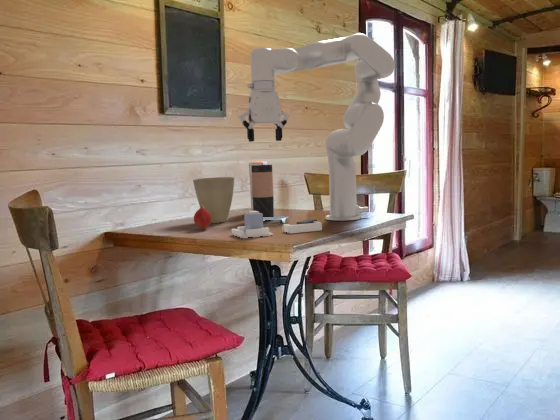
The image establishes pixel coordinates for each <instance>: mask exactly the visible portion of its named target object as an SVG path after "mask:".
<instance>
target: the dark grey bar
mask: <svg viewBox="0 0 560 420" xmlns="http://www.w3.org/2000/svg"><path fill="white" fill-rule="evenodd" d="M313 221H317V222H318V219H316V218H315V219H314V218H312V219H311V218H307V219H304V220H300V221H296V225H298V224H309V223H313Z"/></svg>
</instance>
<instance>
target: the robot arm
mask: <svg viewBox="0 0 560 420" xmlns="http://www.w3.org/2000/svg"><path fill="white" fill-rule="evenodd" d="M249 57H250V75H251V76H250V77H251V82H250V83H248V84H247V89H250V92H249V96H248V103H247V105H248V107H247V110H246V111H245V112H242V113H241V114H239V115H238V118H239V121H240V122H241V124H242V126H243V127H244V128H245V129H246V136H247V139H248V142H249V143H252V142H255V129H254V128H253V127H254V126H255V124H274V126H275V127H276V128H275V132H274V133H275V142H279V141H282V139H283V128H284V127H285V125H286V124H287V122H288V120H289V117H290V115H289V114H288V113H286V112H284V111H282V110H281V108H282V107H281V103H280V102H281V100H280V96H279V92H278V91H276V88H275V87H276V80H275V76H277V75H282V74H288V73H294V72H299V71H304V70H314V69H319V68H323V67H324V68H325V67H329V66H335V65H341V64H345V63H351V62H353V61H357V62H356V63H355V65H354V75H355V78H356V81H357V91H356V94H355V96H354V97H353V98H352V101H351V102H350V104H349V106H348V107H347V109H346V111H345V112H344V115H343V118H342V120H343V121H342V123H343V125H344V127H345V128H341V129H340V128H339V129H335V130H333V131H331V132H330V133H329V134H328V135H327V137H326V140H325V151H326V156H327V162H328V183H329V184H328V185H329V187H328V188H329V214H327V215H325V220H327V221H332V222H333V221H334V222H337V221H339V222H346V221H348V222H349V221H356V220H361V219H362V215H361V213H368V212H369V210H370V209H369V207H368V206H362V207H361V206H360V205H358V204H357V203H358V200H357V199H358V198H357V167H356V163H355V160H354V157H360V156H362V155H364V154H365V153H367V152H368V150H369V149H370V148H371V147H372V144H373V142H374V140H375V139H376V137H377V135H378V134H379V132H380V130H381V128H382V126H383V124H384V118H385V114H384V113H385V112H384V110H383V108H382V107H381V106H380V104H379V102H380V100H381V96H382V95H381V89H380V85H379V81H378V80H382V79H385V78H388V77H389V76H391V75H392V74H393V73H394V72H395V71H394V70H395V67H396V65H395V60H394V57H393V56H392V55H391V53H390V52H389V51H387V50H386V49H385V48H384V47H382V46H381V45H380V44H378V43H377V42H376V41H375V40H374V39H372V38H371V37H370V36H368V35H366V34H365V33H361V32H358V33H355V34H351V35H348V36H342V37H338V38H333V39H327V40H320V41H315V42H311V43H308V44H306V45H305V44H304V45H302V46H299V47H295V48H290V47H283V48H282V47H281V48H269V47H258V48H253V49H251V51H250V56H249ZM246 117H247V118H248V121H247V120H246Z"/></svg>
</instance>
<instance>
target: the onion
mask: <svg viewBox="0 0 560 420" xmlns="http://www.w3.org/2000/svg"><path fill="white" fill-rule="evenodd" d="M211 219H212V218H211V214H210V213H209V211H208V210H206V209H205V208H204V206H201V208H200V207H199V208H198V209H197V210H196V212H195V213H194V215H193V223H194V224H195V226H197V227H198V228H199V229H201V230H202V231H203V230H205V229H207V228H208V226H210V225H211V224H212V223H211Z"/></svg>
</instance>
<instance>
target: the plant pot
mask: <svg viewBox="0 0 560 420" xmlns="http://www.w3.org/2000/svg"><path fill="white" fill-rule="evenodd" d="M192 180H193V186H194V190H195V195H196V199H197V202H198V205H199V209H200V208H201V206H204V208H205V209H206V210H208V211H209V213H210V214H211V218H212V219H211V223H210V224H220V222H221V223H226V222H227V221H228V218H229V214H230V210H231V206H232V201H233V195H234V187H235V176H218V177H201V178H193V179H192Z"/></svg>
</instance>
